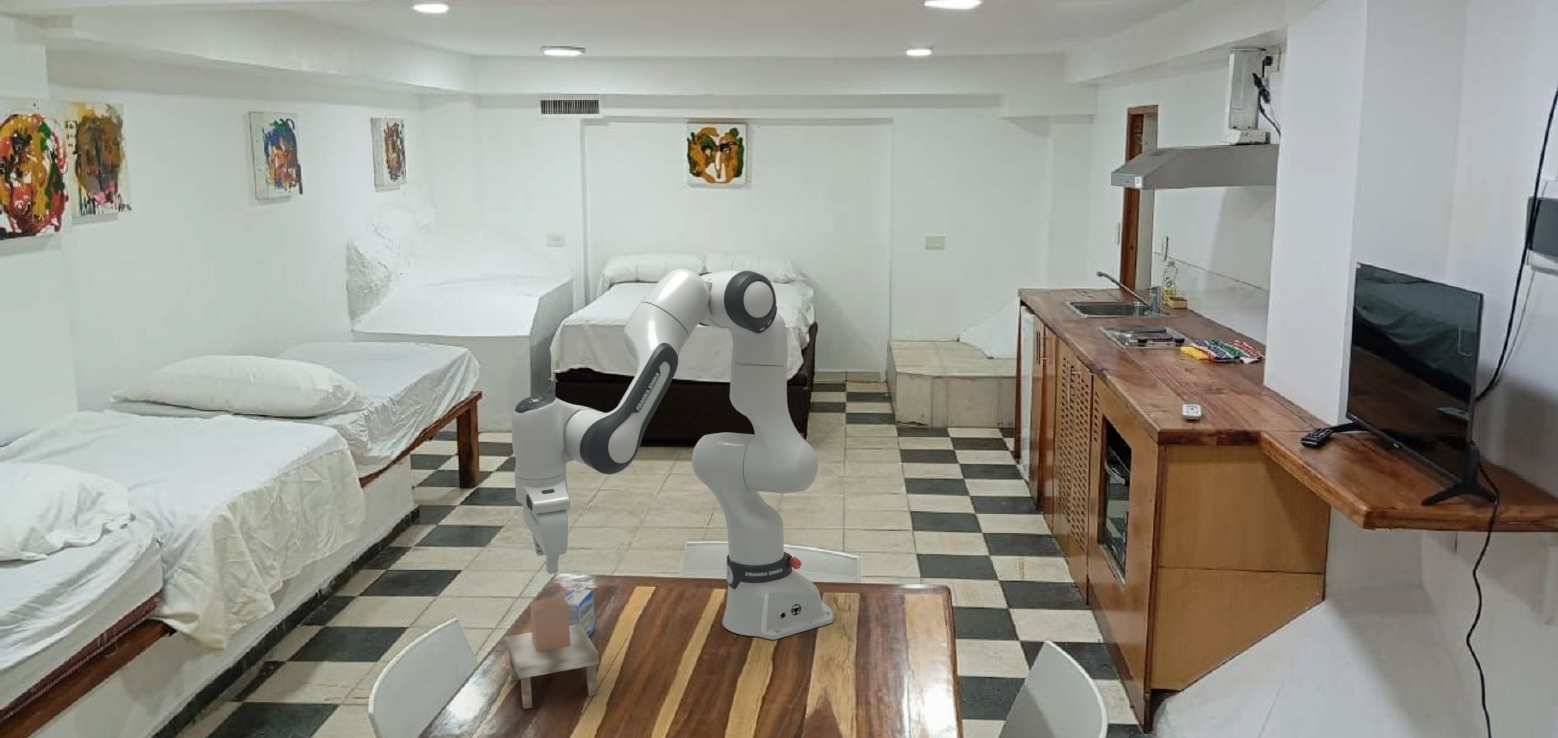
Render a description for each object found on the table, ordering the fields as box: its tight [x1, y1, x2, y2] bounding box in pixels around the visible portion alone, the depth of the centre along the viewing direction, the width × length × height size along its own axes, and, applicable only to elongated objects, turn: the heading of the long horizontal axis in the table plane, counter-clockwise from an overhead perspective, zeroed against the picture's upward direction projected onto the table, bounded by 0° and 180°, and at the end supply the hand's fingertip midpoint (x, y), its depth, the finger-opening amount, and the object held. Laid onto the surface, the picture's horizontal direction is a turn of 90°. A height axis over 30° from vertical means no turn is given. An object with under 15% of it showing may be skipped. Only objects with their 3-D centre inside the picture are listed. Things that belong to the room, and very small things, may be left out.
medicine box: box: [564, 588, 596, 638], centre depth 239 cm, size 8×4×9 cm, turn 168°
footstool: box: [504, 624, 600, 710], centre depth 218 cm, size 14×14×8 cm
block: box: [529, 595, 571, 652], centre depth 217 cm, size 4×6×8 cm, turn 112°
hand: (546, 563), depth 215 cm, fingers open, 8 cm apart
